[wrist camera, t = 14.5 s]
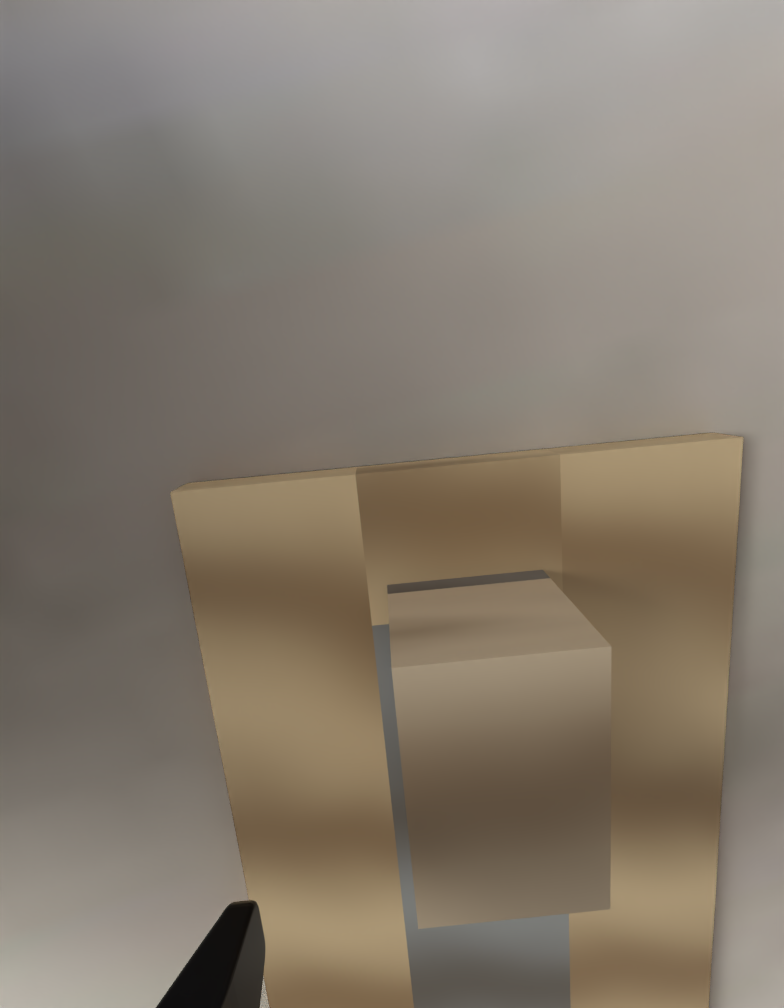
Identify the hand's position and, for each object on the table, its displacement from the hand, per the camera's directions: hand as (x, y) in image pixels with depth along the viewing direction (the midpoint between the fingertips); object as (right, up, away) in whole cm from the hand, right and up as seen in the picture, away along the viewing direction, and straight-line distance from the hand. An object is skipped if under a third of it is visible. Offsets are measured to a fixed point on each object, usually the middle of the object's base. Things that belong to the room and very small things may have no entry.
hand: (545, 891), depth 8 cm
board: (0, -3, +8) cm, 9 cm away
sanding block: (0, +1, +6) cm, 6 cm away
